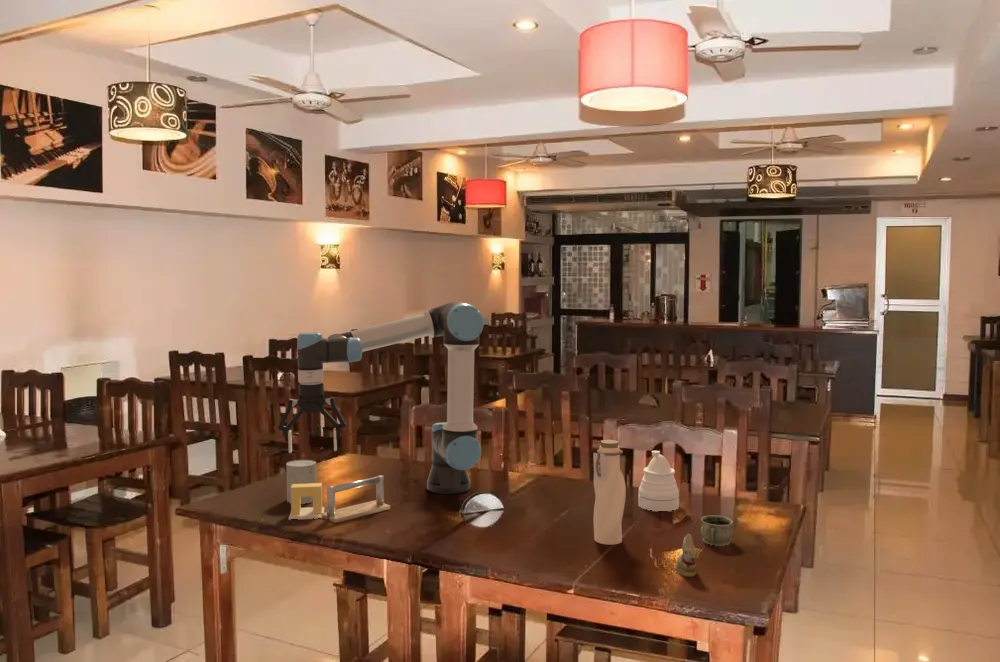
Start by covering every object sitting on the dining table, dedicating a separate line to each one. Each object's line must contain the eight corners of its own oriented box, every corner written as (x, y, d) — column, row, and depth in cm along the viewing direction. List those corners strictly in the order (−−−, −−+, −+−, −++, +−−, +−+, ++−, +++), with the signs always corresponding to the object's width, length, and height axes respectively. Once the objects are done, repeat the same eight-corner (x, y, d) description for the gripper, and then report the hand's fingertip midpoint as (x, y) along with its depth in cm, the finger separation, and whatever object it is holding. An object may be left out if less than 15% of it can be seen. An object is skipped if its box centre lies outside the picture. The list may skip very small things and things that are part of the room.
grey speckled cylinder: (299, 505, 253) (298, 468, 252) (280, 500, 259) (280, 463, 258) (322, 499, 260) (322, 462, 259) (304, 494, 266) (303, 458, 265)
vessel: (705, 533, 228) (706, 511, 228) (736, 538, 224) (737, 516, 223) (695, 545, 217) (695, 523, 217) (727, 551, 213) (728, 528, 213)
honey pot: (662, 514, 245) (663, 457, 244) (630, 505, 255) (630, 450, 254) (687, 506, 254) (688, 451, 253) (654, 497, 264) (655, 444, 262)
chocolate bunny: (672, 576, 196) (673, 536, 195) (677, 565, 203) (678, 527, 202) (695, 579, 194) (696, 539, 193) (699, 568, 201) (700, 529, 200)
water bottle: (614, 549, 214) (616, 447, 212) (584, 543, 219) (586, 443, 217) (629, 538, 223) (631, 440, 221) (600, 532, 228) (601, 437, 226)
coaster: (324, 508, 250) (324, 506, 250) (322, 518, 240) (322, 516, 240) (292, 510, 248) (292, 508, 248) (288, 519, 238) (288, 517, 238)
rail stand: (376, 503, 255) (375, 473, 255) (390, 509, 250) (390, 477, 249) (320, 517, 241) (320, 484, 241) (334, 523, 236) (334, 490, 235)
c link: (291, 514, 241) (290, 487, 241) (292, 510, 245) (292, 484, 245) (321, 513, 243) (321, 486, 242) (322, 509, 247) (321, 482, 246)
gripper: (267, 386, 237) (270, 455, 239) (352, 383, 241) (353, 451, 243) (270, 382, 245) (272, 450, 246) (352, 379, 249) (354, 446, 250)
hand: (313, 451), depth 245 cm, fingers open, 13 cm apart
